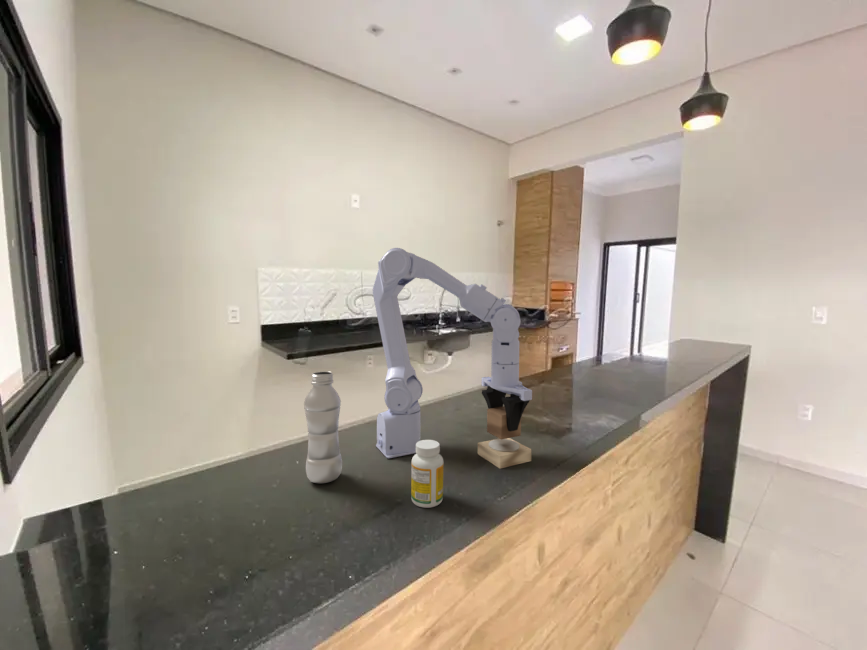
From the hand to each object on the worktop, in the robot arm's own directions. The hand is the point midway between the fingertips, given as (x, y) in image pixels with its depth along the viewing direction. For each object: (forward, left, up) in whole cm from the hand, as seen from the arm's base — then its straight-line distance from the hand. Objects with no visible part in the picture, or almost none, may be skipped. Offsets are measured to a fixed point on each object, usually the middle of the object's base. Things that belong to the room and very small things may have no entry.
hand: (504, 426), depth 80 cm
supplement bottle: (-22, -8, -7) cm, 24 cm away
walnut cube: (0, 0, -2) cm, 2 cm away
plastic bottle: (-36, +7, -7) cm, 37 cm away
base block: (0, 0, -7) cm, 7 cm away
